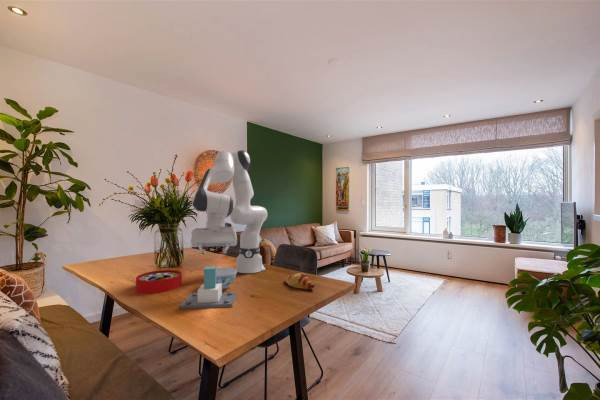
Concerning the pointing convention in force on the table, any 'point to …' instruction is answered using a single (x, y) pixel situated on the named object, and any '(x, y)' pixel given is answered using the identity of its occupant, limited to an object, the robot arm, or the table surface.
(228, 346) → the table surface
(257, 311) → the table surface
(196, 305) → the stack base
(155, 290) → the toy clock
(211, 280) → the teal brick
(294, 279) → the croissant
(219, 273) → the chinaware
